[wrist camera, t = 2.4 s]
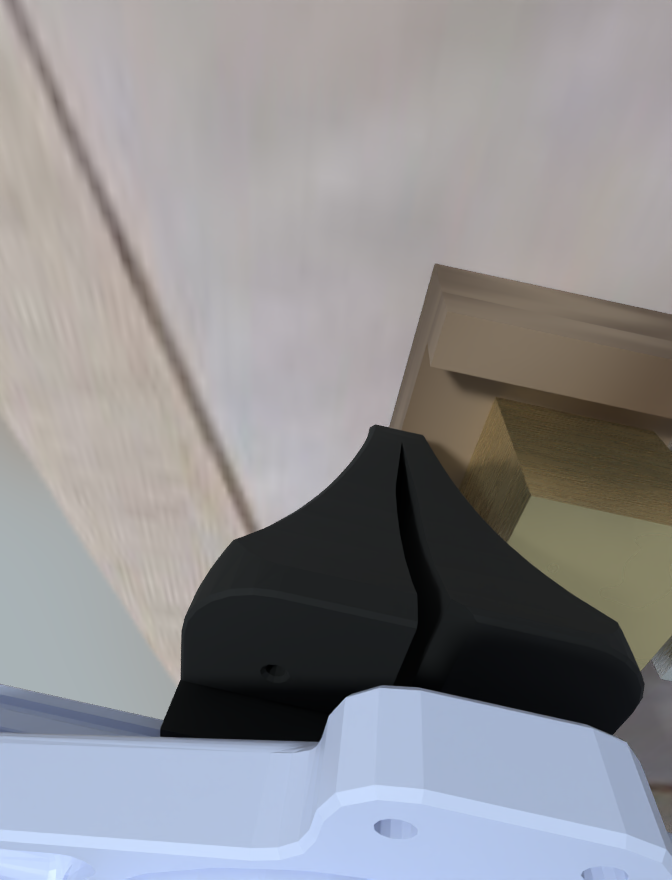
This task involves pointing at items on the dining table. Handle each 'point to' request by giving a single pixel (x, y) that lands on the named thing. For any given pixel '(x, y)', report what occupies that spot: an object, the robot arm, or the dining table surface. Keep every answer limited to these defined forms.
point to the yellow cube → (583, 510)
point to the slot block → (528, 361)
